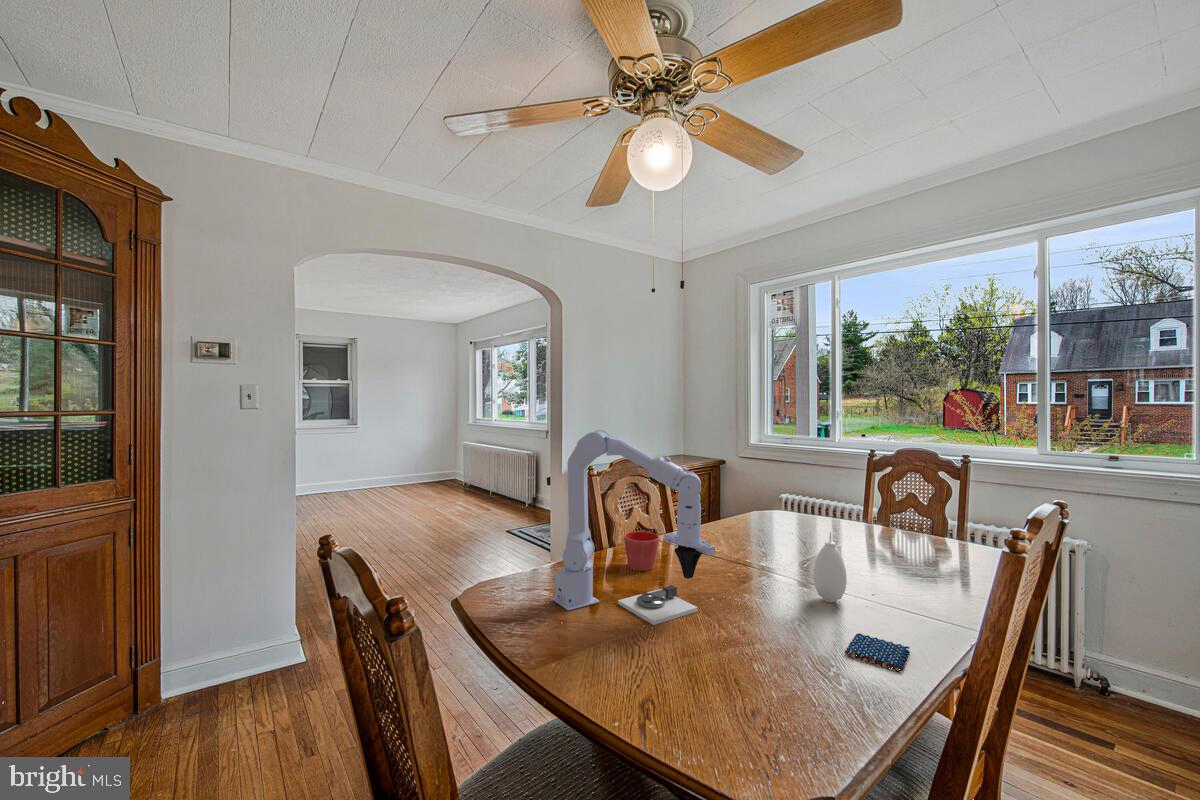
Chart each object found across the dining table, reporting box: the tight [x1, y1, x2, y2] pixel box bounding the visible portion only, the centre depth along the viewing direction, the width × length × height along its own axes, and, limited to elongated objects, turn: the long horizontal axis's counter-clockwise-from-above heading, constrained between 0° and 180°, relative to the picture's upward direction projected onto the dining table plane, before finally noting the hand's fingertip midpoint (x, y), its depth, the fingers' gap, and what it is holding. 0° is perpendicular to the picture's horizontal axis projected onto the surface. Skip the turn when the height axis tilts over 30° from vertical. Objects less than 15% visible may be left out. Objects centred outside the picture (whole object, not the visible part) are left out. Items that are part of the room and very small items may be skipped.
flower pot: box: [623, 530, 660, 572], centre depth 156 cm, size 11×11×10 cm
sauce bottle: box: [812, 532, 848, 604], centre depth 131 cm, size 8×8×18 cm
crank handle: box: [637, 585, 678, 608], centre depth 127 cm, size 11×7×2 cm, turn 124°
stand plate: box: [617, 588, 699, 626], centre depth 126 cm, size 14×14×1 cm
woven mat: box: [844, 632, 911, 672], centre depth 104 cm, size 10×11×2 cm
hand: (688, 577), depth 124 cm, fingers closed
